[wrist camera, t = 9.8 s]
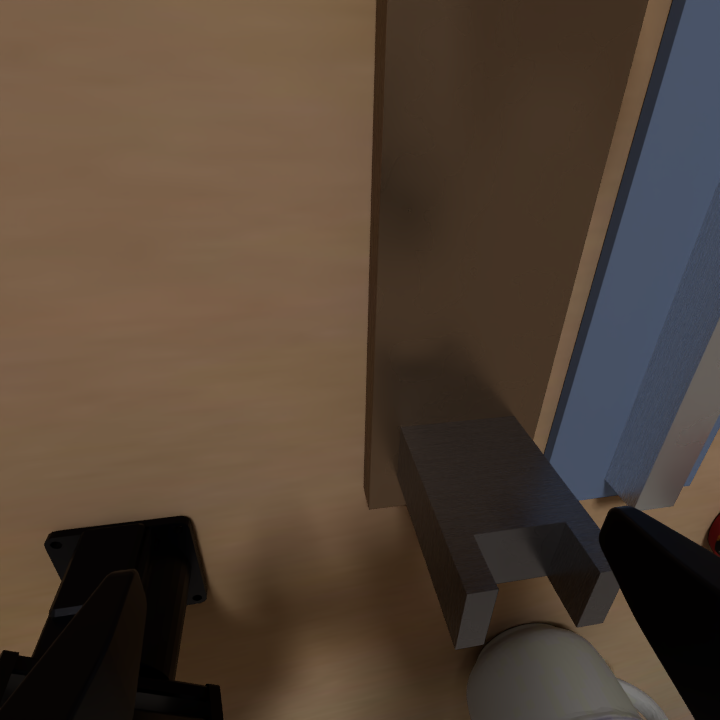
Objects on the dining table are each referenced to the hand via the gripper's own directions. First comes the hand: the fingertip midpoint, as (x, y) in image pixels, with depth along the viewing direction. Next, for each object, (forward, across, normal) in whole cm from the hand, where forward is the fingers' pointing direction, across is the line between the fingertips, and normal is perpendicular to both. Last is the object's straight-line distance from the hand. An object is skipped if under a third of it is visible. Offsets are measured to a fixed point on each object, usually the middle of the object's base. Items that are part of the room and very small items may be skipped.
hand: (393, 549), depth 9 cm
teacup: (+12, -17, +29) cm, 36 cm away
